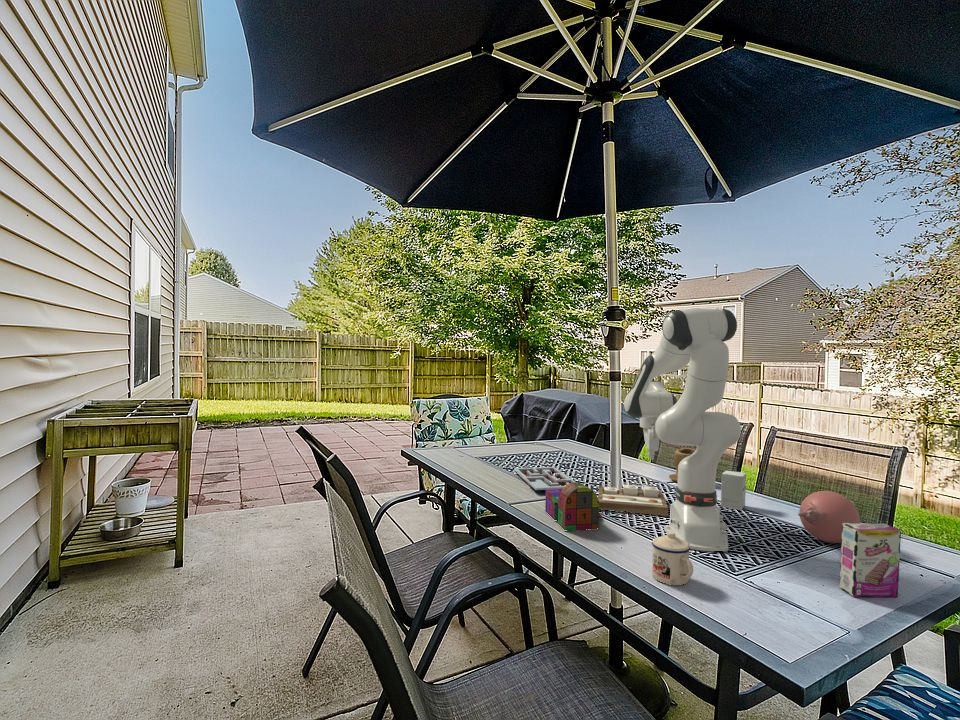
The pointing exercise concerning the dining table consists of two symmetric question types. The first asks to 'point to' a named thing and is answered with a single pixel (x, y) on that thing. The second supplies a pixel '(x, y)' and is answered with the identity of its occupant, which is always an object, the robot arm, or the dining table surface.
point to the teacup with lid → (671, 560)
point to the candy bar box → (870, 560)
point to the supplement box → (733, 490)
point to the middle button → (630, 490)
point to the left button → (610, 490)
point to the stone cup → (678, 457)
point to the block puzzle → (573, 507)
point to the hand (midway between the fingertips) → (651, 458)
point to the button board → (633, 502)
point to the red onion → (827, 515)
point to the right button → (650, 491)
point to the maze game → (543, 478)
